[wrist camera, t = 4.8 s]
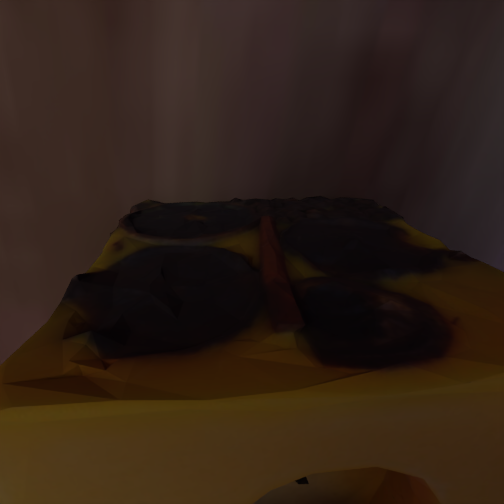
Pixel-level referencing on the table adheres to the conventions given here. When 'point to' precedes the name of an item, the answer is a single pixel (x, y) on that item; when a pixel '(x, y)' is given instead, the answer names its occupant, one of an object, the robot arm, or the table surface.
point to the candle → (262, 365)
